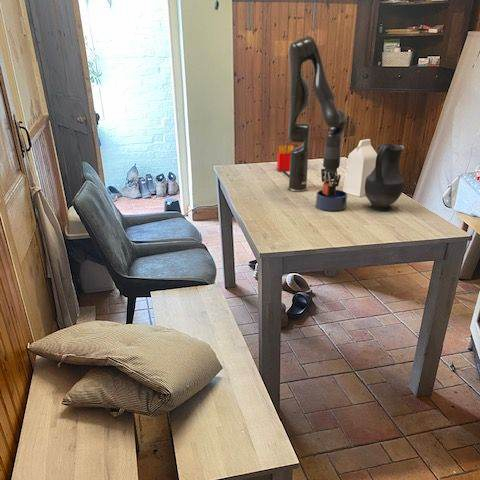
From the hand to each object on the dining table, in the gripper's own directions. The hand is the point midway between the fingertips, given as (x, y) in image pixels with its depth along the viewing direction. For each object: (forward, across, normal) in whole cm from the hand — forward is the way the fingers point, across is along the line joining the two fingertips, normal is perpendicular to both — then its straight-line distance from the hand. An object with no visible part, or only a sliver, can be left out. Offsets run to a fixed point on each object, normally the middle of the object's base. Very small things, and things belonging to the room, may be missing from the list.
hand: (328, 193), depth 236 cm
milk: (+6, -14, +27) cm, 31 cm away
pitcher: (+7, +14, +20) cm, 25 cm away
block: (0, 0, 0) cm, 0 cm away
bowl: (+6, +1, +1) cm, 7 cm away
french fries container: (+6, -71, +13) cm, 73 cm away
